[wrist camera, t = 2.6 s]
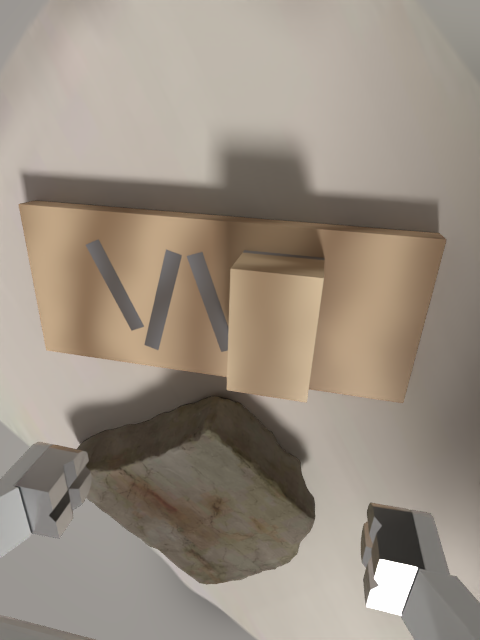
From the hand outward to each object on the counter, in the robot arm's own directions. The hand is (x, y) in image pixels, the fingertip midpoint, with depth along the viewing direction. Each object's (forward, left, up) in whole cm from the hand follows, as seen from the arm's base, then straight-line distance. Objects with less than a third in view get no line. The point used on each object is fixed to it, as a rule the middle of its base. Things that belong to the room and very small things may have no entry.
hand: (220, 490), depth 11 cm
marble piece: (+5, +16, -16) cm, 23 cm away
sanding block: (0, 0, -13) cm, 13 cm away
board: (+4, 0, -15) cm, 15 cm away
